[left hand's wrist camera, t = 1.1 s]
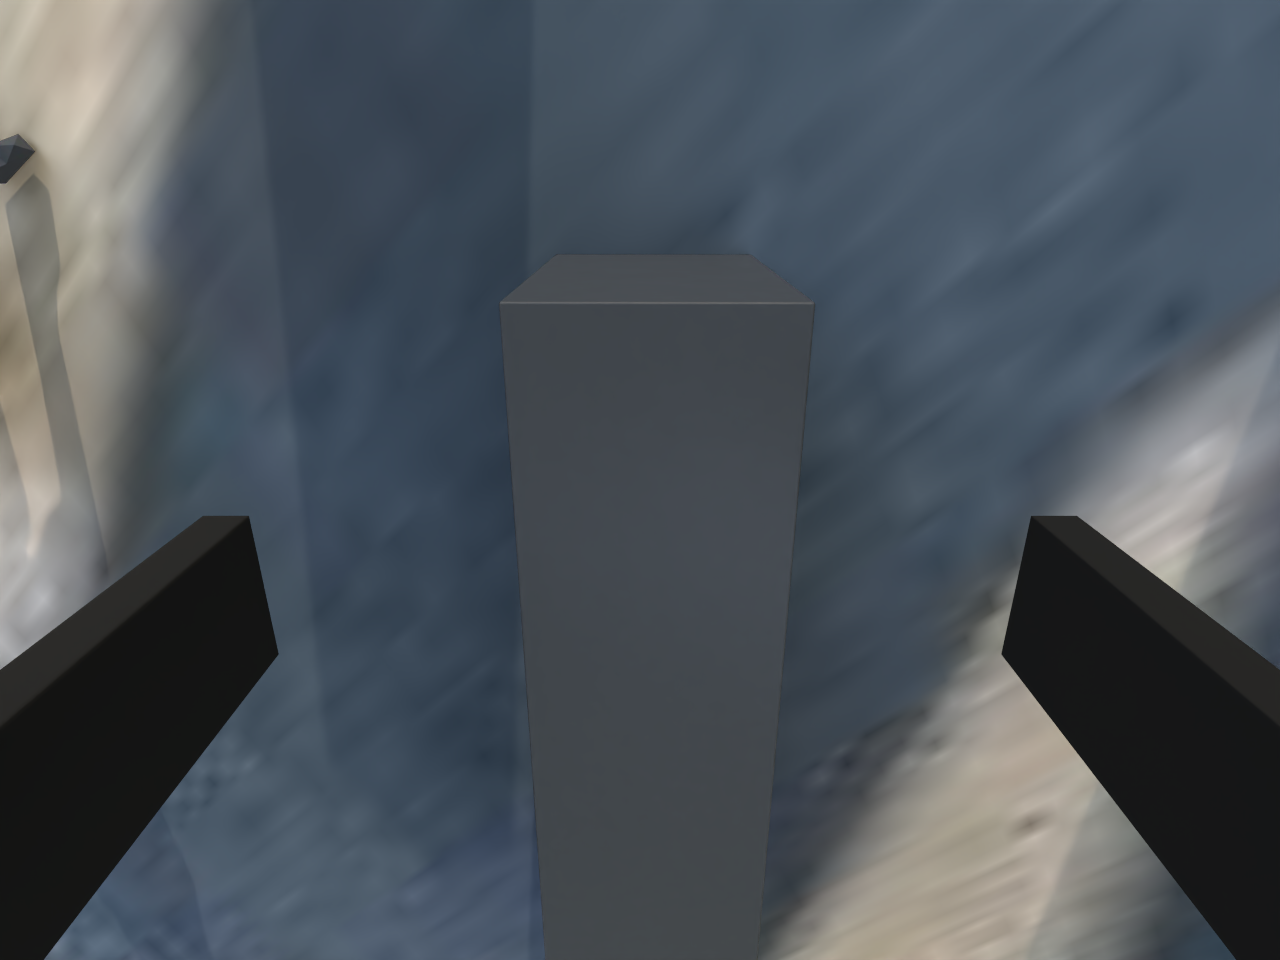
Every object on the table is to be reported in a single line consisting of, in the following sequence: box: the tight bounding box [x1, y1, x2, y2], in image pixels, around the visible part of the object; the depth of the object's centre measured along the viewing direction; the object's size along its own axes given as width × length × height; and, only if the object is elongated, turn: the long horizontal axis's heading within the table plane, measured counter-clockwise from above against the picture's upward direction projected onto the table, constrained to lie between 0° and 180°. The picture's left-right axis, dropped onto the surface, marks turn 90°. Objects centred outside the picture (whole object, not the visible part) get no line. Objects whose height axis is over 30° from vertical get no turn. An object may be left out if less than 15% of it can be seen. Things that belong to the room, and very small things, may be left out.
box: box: [499, 254, 815, 960], centre depth 24 cm, size 27×6×10 cm, turn 0°
